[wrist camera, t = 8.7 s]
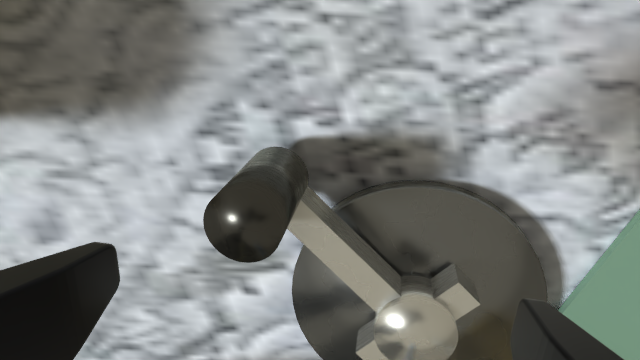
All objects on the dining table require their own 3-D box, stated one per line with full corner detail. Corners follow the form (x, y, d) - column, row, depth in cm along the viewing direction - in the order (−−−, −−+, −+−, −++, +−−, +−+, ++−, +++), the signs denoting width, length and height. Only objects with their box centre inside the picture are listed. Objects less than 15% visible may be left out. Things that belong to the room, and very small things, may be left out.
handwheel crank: (490, 298, 20) (517, 383, 16) (392, 361, 23) (391, 452, 18) (300, 108, 19) (269, 141, 14) (214, 196, 21) (162, 249, 16)
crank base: (460, 416, 25) (463, 431, 24) (264, 327, 25) (259, 339, 24) (594, 247, 20) (604, 259, 19) (353, 138, 20) (351, 144, 19)
